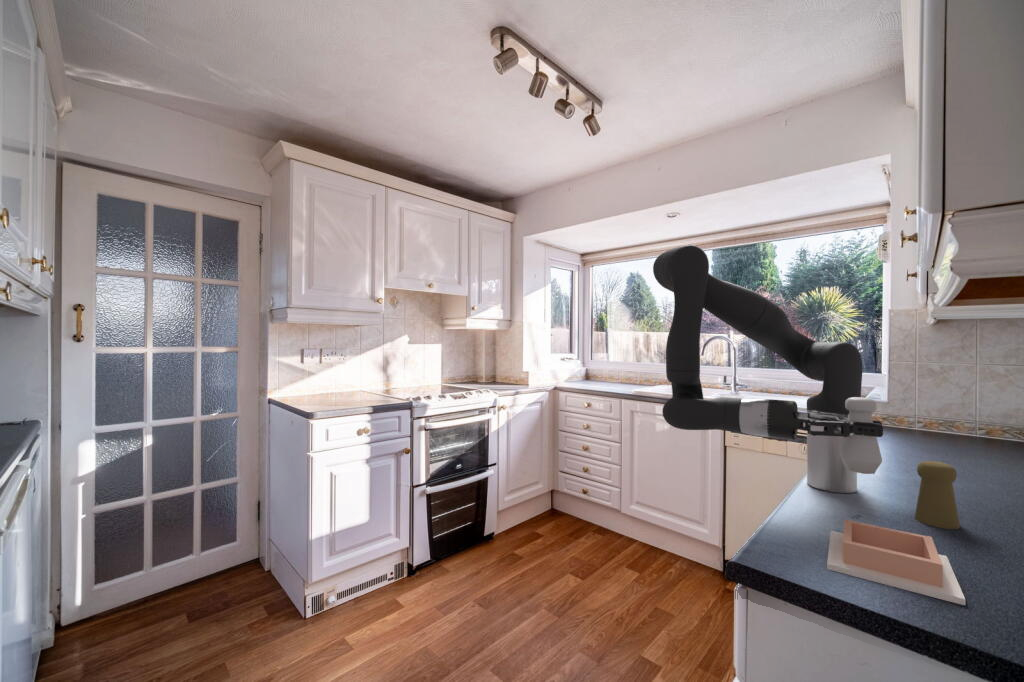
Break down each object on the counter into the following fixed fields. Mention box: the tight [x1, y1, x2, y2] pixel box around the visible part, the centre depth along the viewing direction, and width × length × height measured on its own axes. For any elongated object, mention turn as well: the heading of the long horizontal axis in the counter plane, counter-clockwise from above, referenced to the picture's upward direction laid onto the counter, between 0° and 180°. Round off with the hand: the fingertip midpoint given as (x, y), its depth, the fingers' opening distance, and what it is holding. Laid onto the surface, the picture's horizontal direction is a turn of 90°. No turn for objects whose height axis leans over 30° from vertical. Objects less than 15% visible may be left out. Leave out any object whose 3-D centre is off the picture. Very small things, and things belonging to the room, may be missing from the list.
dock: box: [826, 519, 966, 606], centre depth 64 cm, size 14×14×4 cm
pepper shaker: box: [914, 460, 961, 530], centre depth 79 cm, size 6×6×11 cm
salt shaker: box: [840, 396, 883, 475], centre depth 77 cm, size 6×6×13 cm
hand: (881, 428), depth 75 cm, fingers closed on salt shaker, 3 cm apart
